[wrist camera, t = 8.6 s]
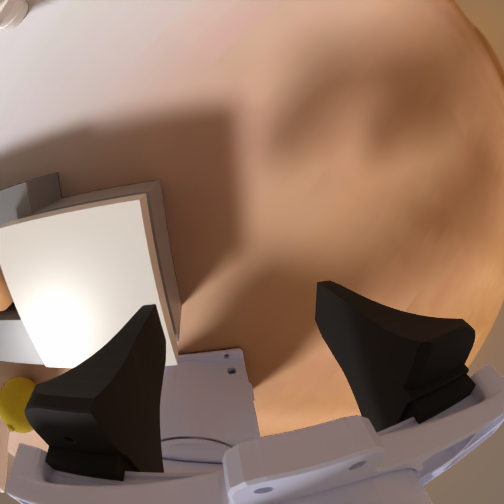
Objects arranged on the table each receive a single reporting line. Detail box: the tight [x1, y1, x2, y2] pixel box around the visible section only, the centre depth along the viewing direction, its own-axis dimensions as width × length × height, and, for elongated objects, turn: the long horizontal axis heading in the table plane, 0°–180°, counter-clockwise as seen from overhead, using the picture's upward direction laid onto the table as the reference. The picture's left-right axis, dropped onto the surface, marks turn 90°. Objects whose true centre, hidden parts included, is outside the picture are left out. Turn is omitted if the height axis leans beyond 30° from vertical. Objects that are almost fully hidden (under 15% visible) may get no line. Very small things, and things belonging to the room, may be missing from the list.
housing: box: [0, 172, 182, 365], centre depth 17 cm, size 22×14×4 cm, turn 94°
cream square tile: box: [0, 194, 178, 368], centre depth 14 cm, size 10×10×2 cm
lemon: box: [0, 377, 36, 433], centre depth 19 cm, size 6×6×8 cm
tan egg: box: [0, 267, 13, 311], centre depth 17 cm, size 4×4×4 cm
